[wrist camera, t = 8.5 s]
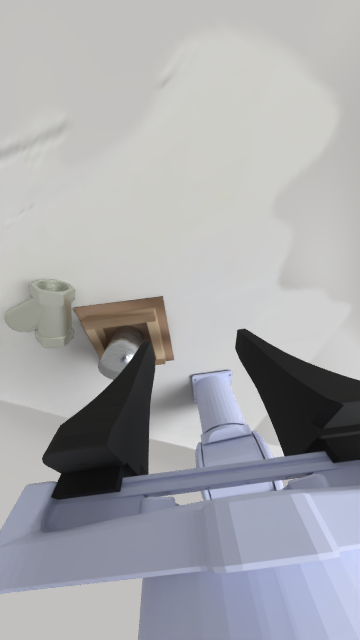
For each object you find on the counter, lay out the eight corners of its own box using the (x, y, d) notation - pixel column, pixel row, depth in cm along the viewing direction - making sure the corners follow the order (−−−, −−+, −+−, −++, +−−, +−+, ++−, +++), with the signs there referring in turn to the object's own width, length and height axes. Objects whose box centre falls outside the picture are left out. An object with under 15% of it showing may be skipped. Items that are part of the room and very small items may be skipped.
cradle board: (173, 355, 26) (174, 368, 24) (108, 364, 26) (102, 377, 24) (162, 294, 20) (162, 303, 18) (77, 305, 20) (65, 315, 18)
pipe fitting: (28, 320, 21) (77, 334, 22) (-2, 336, 17) (58, 352, 18) (19, 265, 17) (79, 286, 18) (-21, 272, 14) (56, 297, 15)
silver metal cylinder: (146, 347, 23) (139, 378, 18) (118, 349, 23) (104, 381, 18) (141, 324, 21) (132, 353, 16) (110, 326, 21) (92, 356, 16)
